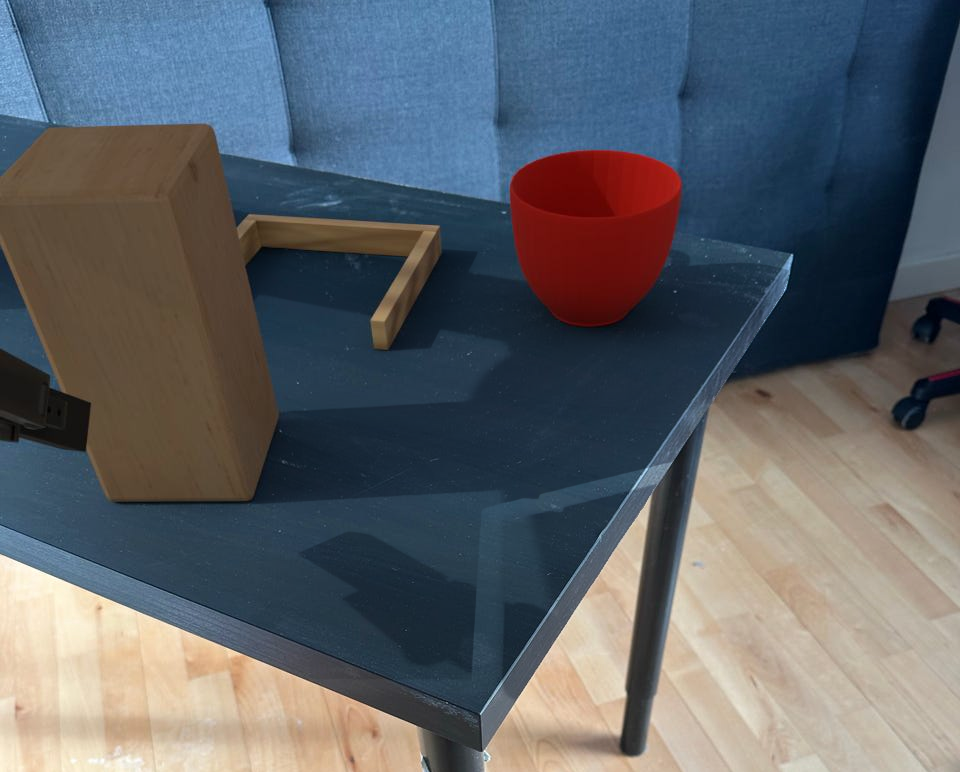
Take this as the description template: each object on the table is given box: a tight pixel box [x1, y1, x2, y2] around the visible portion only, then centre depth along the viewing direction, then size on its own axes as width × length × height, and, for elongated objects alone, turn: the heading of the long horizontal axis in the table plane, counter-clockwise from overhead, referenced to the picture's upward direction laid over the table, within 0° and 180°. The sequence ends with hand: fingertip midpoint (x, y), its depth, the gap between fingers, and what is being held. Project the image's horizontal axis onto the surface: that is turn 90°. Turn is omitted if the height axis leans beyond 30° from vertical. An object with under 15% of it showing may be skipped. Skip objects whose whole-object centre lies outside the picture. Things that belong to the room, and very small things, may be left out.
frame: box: [236, 213, 443, 351], centre depth 80 cm, size 17×18×2 cm
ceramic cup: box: [509, 149, 683, 327], centre depth 75 cm, size 13×17×10 cm
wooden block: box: [0, 122, 280, 503], centre depth 58 cm, size 10×10×20 cm
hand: (76, 426), depth 52 cm, fingers closed
